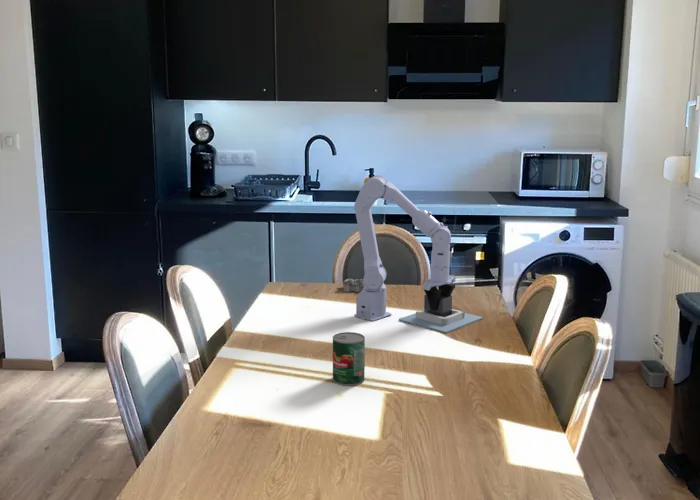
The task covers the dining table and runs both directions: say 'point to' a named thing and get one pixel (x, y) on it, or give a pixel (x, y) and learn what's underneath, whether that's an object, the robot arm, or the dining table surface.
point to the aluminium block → (440, 306)
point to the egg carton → (353, 285)
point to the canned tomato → (348, 358)
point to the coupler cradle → (441, 320)
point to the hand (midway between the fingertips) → (438, 308)
